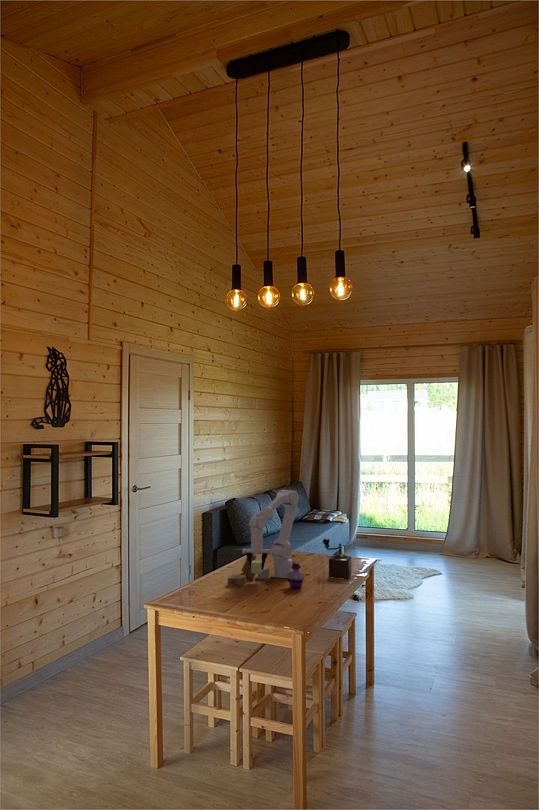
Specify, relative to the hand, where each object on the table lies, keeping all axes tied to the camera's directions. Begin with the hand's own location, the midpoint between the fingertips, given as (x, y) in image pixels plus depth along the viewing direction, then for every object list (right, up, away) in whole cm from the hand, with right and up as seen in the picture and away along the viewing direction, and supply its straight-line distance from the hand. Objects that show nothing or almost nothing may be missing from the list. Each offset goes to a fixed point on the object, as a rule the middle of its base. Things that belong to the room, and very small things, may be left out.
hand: (257, 568), depth 266 cm
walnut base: (-10, -7, -4) cm, 13 cm away
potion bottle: (+19, -7, -9) cm, 22 cm away
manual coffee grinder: (+40, -8, +13) cm, 43 cm away
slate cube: (+3, -7, +8) cm, 11 cm away
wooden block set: (-4, -8, +14) cm, 17 cm away
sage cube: (0, -2, 0) cm, 2 cm away
